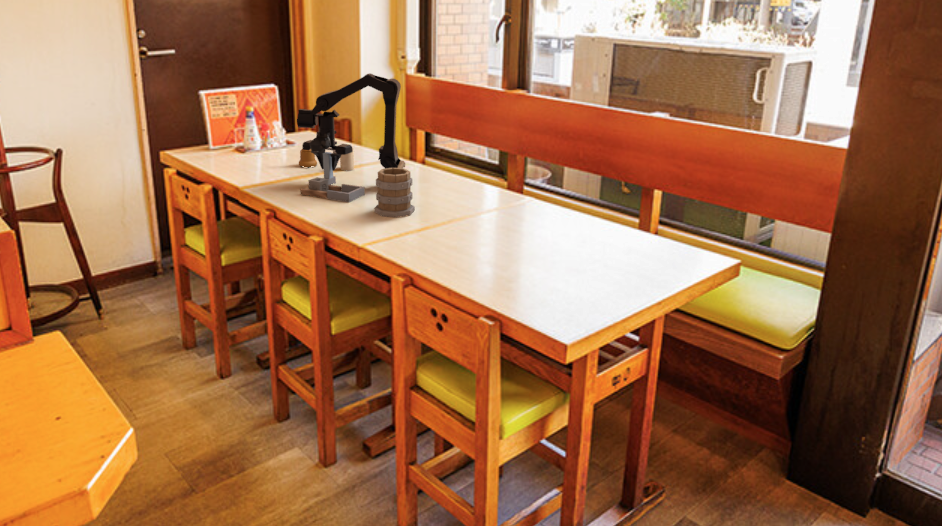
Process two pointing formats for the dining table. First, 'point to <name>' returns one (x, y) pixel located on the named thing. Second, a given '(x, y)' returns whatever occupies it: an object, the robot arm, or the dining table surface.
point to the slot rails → (320, 193)
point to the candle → (347, 161)
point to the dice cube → (319, 184)
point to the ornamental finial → (307, 158)
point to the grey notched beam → (328, 168)
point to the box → (346, 193)
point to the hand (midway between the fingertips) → (328, 169)
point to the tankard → (394, 192)
